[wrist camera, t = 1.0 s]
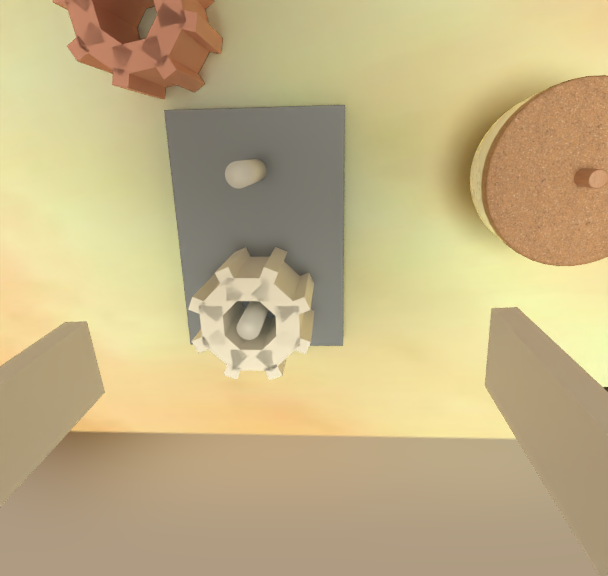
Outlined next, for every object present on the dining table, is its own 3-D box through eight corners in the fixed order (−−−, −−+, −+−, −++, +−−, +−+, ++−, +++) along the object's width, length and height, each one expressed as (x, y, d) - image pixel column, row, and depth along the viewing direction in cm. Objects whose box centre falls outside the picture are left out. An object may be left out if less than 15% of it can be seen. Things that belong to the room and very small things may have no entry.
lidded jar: (451, 247, 34) (493, 281, 25) (451, 102, 31) (499, 83, 22) (592, 234, 33) (689, 265, 24) (607, 84, 30) (724, 55, 21)
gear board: (171, 111, 32) (121, 100, 25) (344, 107, 31) (347, 93, 24) (196, 337, 38) (161, 384, 30) (342, 338, 37) (344, 386, 29)
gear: (90, -18, 30) (33, -58, 24) (203, -49, 29) (171, -98, 23) (127, 107, 32) (83, 98, 27) (232, 83, 31) (210, 68, 26)
